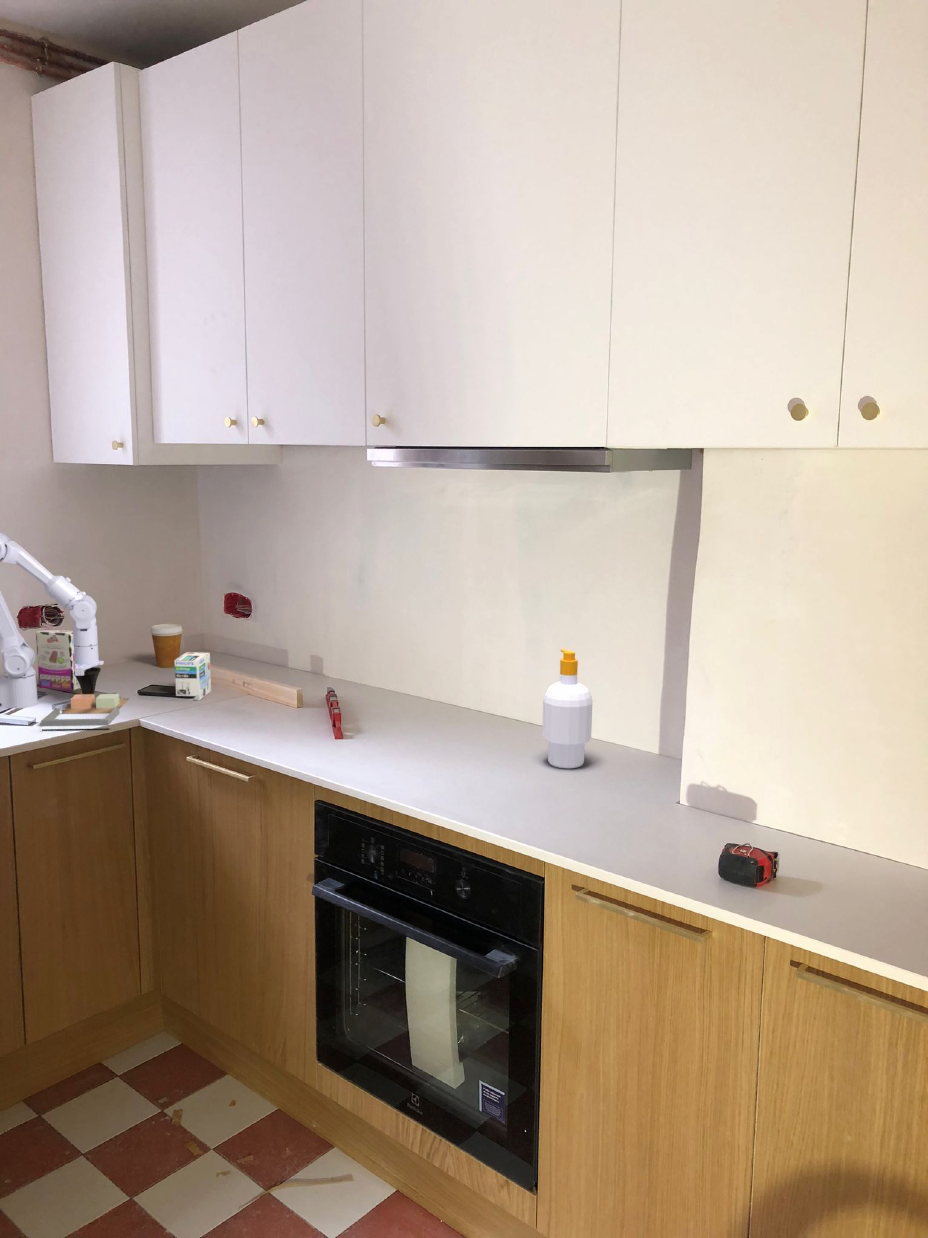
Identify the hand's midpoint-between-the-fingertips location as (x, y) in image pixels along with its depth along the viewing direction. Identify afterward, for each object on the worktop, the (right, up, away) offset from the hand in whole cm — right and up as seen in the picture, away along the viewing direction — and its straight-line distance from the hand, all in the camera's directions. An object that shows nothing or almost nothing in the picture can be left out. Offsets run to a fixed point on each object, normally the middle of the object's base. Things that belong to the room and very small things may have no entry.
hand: (88, 697), depth 249 cm
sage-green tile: (+7, -2, -4) cm, 8 cm away
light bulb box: (+24, -1, +12) cm, 26 cm away
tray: (+5, -5, -16) cm, 17 cm away
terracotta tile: (+1, -2, -5) cm, 5 cm away
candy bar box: (-13, 0, +15) cm, 20 cm away
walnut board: (+3, -3, -4) cm, 6 cm away
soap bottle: (+117, -11, -41) cm, 125 cm away
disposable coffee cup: (+6, +6, +47) cm, 48 cm away
